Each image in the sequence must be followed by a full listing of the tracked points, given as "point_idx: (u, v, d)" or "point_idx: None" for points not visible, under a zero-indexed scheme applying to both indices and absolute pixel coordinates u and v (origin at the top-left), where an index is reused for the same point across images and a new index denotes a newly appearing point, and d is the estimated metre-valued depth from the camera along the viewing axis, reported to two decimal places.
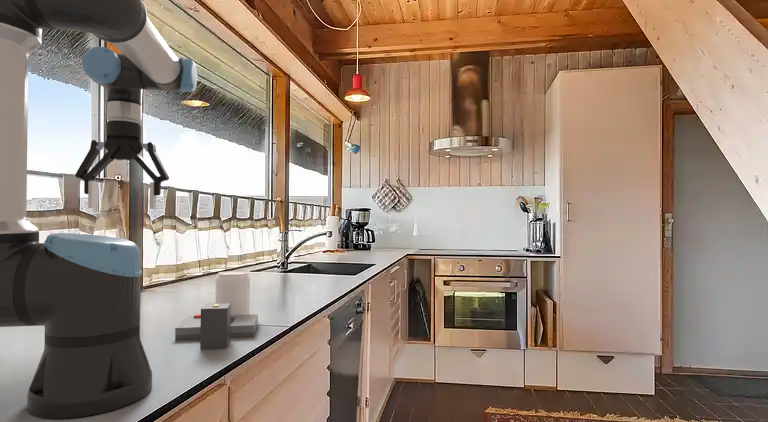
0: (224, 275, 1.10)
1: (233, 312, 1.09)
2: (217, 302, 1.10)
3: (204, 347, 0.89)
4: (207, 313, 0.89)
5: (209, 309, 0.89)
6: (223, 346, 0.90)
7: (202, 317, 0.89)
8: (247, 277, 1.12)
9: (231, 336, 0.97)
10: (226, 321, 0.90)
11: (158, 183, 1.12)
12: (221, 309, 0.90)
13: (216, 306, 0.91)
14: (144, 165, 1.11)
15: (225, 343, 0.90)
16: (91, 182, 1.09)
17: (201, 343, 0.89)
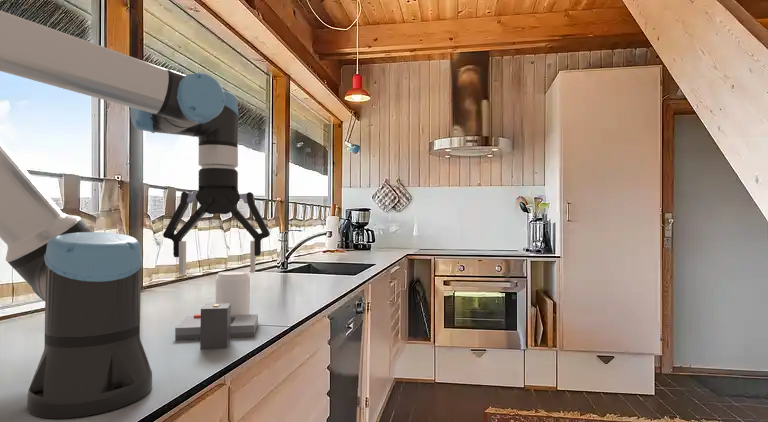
0: (224, 275, 1.10)
1: (233, 312, 1.09)
2: (217, 302, 1.10)
3: (204, 347, 0.89)
4: (207, 313, 0.89)
5: (209, 309, 0.89)
6: (223, 346, 0.90)
7: (202, 317, 0.89)
8: (247, 277, 1.12)
9: (231, 336, 0.97)
10: (226, 321, 0.90)
11: (259, 241, 0.93)
12: (221, 309, 0.90)
13: (216, 306, 0.91)
14: (243, 220, 0.92)
15: (225, 343, 0.90)
16: (182, 243, 0.89)
17: (201, 343, 0.89)
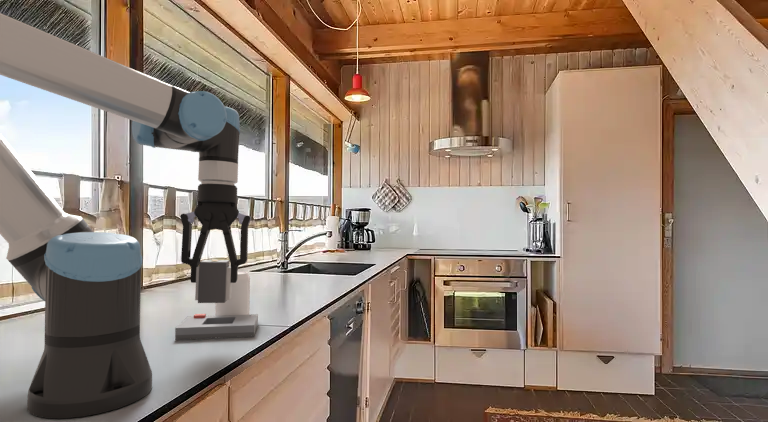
0: None
1: (233, 312, 1.09)
2: None
3: (202, 300, 0.89)
4: (206, 267, 0.89)
5: (208, 262, 0.89)
6: (221, 300, 0.89)
7: (200, 270, 0.89)
8: (247, 277, 1.12)
9: (231, 336, 0.97)
10: (224, 275, 0.90)
11: (236, 268, 0.92)
12: (220, 263, 0.89)
13: (215, 261, 0.91)
14: (229, 242, 0.91)
15: (223, 297, 0.89)
16: None
17: (199, 296, 0.88)
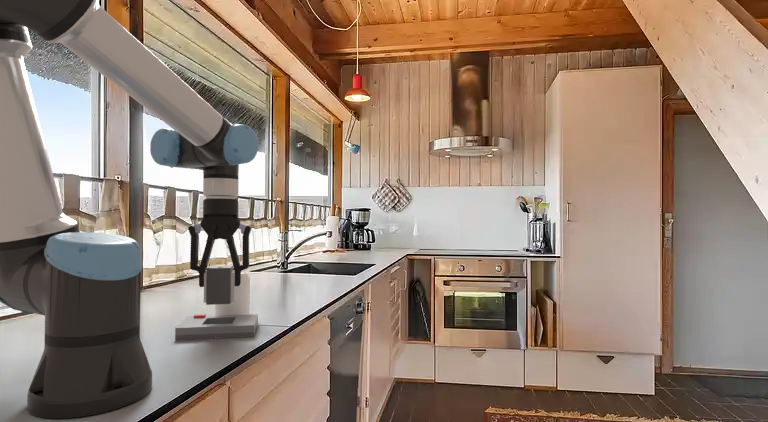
0: None
1: (233, 312, 1.09)
2: None
3: (210, 302, 1.00)
4: (212, 272, 1.00)
5: (214, 269, 1.00)
6: (226, 302, 1.00)
7: (208, 276, 0.99)
8: (247, 277, 1.12)
9: (231, 336, 0.97)
10: (229, 279, 1.00)
11: (239, 273, 1.03)
12: (224, 269, 1.00)
13: (220, 266, 1.01)
14: (233, 250, 1.02)
15: (228, 299, 1.00)
16: None
17: (207, 299, 0.99)
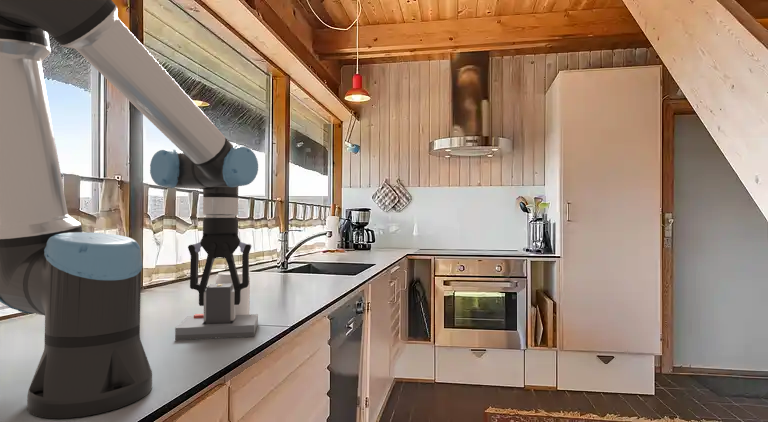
0: (224, 275, 1.10)
1: None
2: None
3: (209, 321, 1.00)
4: (212, 292, 1.00)
5: (214, 288, 1.00)
6: (226, 321, 1.00)
7: (207, 295, 0.99)
8: None
9: (231, 336, 0.97)
10: (229, 298, 1.00)
11: (239, 291, 1.03)
12: (224, 288, 1.00)
13: (220, 285, 1.01)
14: (232, 269, 1.02)
15: (228, 318, 1.00)
16: None
17: (207, 318, 0.99)
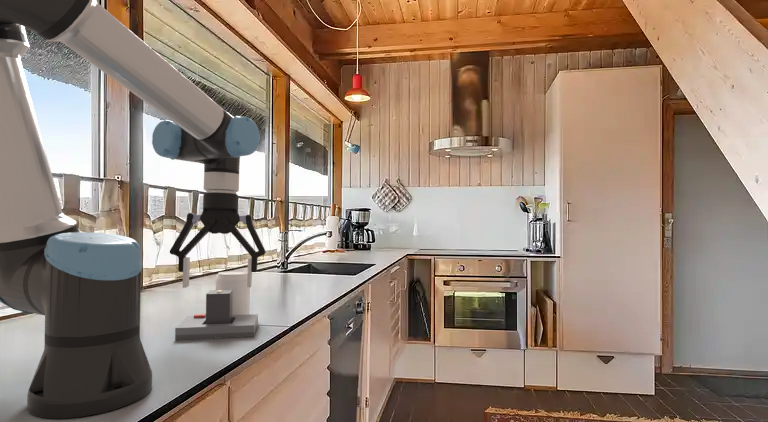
0: (224, 275, 1.10)
1: (233, 312, 1.09)
2: None
3: None
4: (212, 298, 1.00)
5: (213, 294, 1.00)
6: None
7: (207, 301, 0.99)
8: None
9: (231, 336, 0.97)
10: (229, 305, 1.00)
11: (256, 259, 1.03)
12: (224, 294, 1.00)
13: (220, 292, 1.01)
14: (242, 240, 1.02)
15: None
16: (186, 259, 1.00)
17: None
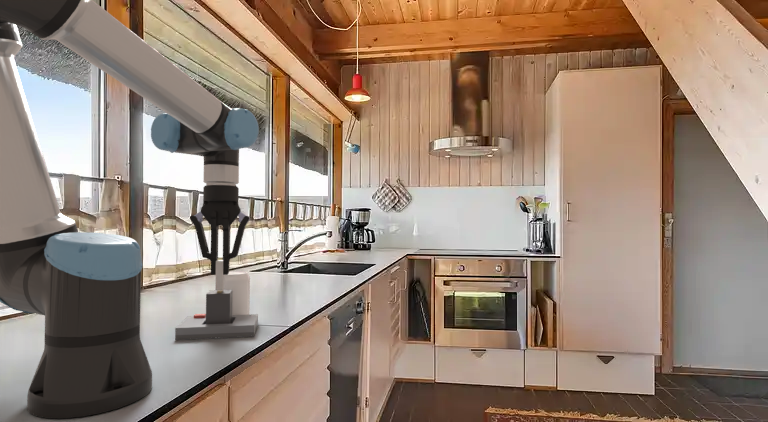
0: (224, 275, 1.10)
1: (233, 312, 1.09)
2: None
3: None
4: (212, 298, 1.00)
5: (213, 294, 1.00)
6: None
7: (207, 301, 0.99)
8: (247, 277, 1.12)
9: (231, 336, 0.97)
10: (229, 305, 1.00)
11: (227, 261, 1.02)
12: (224, 294, 1.00)
13: (220, 292, 1.01)
14: (226, 238, 1.02)
15: None
16: (218, 262, 1.01)
17: None
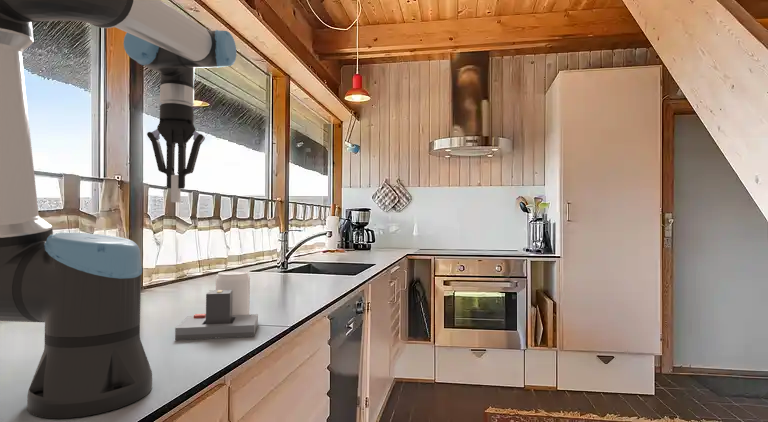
0: (224, 275, 1.10)
1: (233, 312, 1.09)
2: None
3: None
4: (212, 298, 1.00)
5: (213, 294, 1.00)
6: None
7: (207, 301, 0.99)
8: (247, 277, 1.12)
9: (231, 336, 0.97)
10: (229, 305, 1.00)
11: (183, 176, 1.10)
12: (224, 294, 1.00)
13: (220, 292, 1.01)
14: (181, 154, 1.09)
15: None
16: (174, 176, 1.09)
17: None
